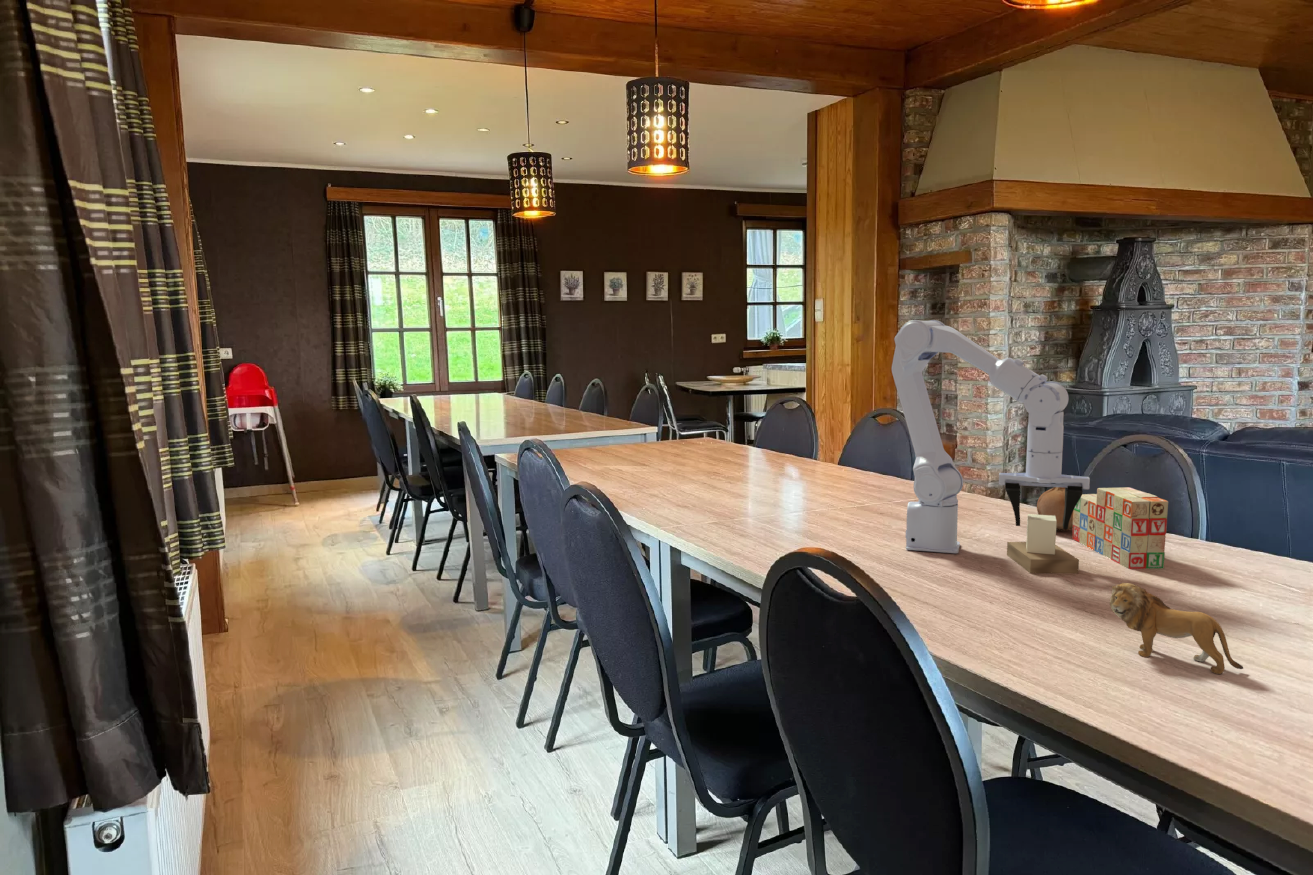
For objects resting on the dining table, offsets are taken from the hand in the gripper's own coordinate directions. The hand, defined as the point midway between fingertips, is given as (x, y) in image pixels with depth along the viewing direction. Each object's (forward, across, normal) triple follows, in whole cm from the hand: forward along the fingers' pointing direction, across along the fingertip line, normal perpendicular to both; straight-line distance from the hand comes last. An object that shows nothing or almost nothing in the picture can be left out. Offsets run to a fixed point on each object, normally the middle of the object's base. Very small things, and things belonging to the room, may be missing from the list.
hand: (1041, 526), depth 148 cm
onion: (+7, +5, +28) cm, 29 cm away
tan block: (+7, 0, 0) cm, 7 cm away
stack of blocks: (+7, +13, +12) cm, 19 cm away
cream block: (+4, 0, 0) cm, 4 cm away
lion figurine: (+7, +13, -42) cm, 44 cm away
